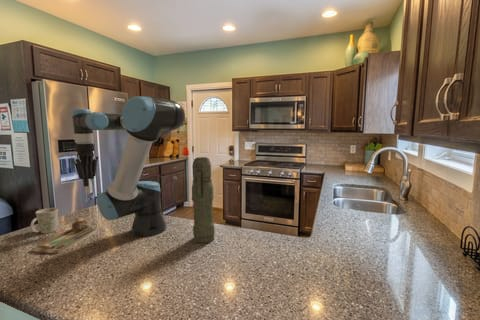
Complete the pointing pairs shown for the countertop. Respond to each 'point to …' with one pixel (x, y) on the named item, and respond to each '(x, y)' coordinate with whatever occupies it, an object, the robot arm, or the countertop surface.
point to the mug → (46, 220)
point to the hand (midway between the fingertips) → (88, 192)
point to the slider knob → (79, 225)
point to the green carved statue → (202, 201)
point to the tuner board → (63, 241)
